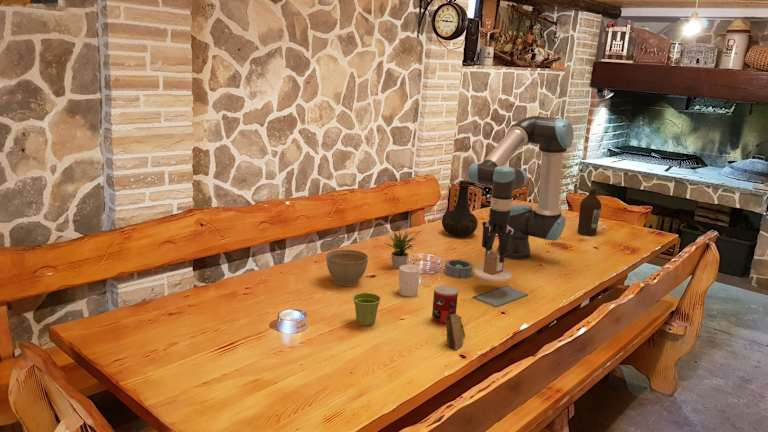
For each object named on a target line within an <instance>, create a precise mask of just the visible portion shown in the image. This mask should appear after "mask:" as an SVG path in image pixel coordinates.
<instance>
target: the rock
mask: <svg viewBox="0 0 768 432" xmlns="http://www.w3.org/2000/svg"><path fill="white" fill-rule="evenodd" d="M445 328H446V346H448V347H449V348H450V349H452V350H454V351H456V352H458V350H460V348H461V347H463V345H464V338H465V337H466V333H465V329H464V325H463V323H462V316H460V315H458V314H457V313H456V314H451V315H446V324H445Z"/></svg>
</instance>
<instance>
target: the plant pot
mask: <svg viewBox="0 0 768 432" xmlns="http://www.w3.org/2000/svg"><path fill="white" fill-rule="evenodd" d="M352 300H353V304H354V308H355V318H356V323H357V324H358V325H360V326H365V327H366V326H367V327H368V326H373V325H375V324H376V319H377V315H378V314H377V313H378V310H379V309H378V308H379V305H380V302H381V300H382V297H381V296H380V295H378V294H377V293H371V292H358V293H356V294H354V295H353V296H352Z"/></svg>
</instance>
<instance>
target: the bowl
mask: <svg viewBox="0 0 768 432" xmlns="http://www.w3.org/2000/svg"><path fill="white" fill-rule="evenodd" d="M456 265H461V266H462V267H461V268H460V267H455V266H456ZM473 267H474V264H473V263H472V262H470V261H468V260H465V259H464V260H463V259H449V260H446V261H445V263H444V274H445V275H446V276H449V277H451V278H454V279H455V278H456V279H467V278H470V277H472V276H473V270H474V268H473Z"/></svg>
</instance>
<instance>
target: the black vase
mask: <svg viewBox="0 0 768 432" xmlns="http://www.w3.org/2000/svg"><path fill="white" fill-rule="evenodd" d="M469 181H470V180H463V179H461V180H459V183H458V184H457V185H458V186H459V187H458V195H457V199H456V203H455V206H454V208H453V210H452V209H451V210H447V211H445V212H444V213H443V215H442V219H441V225H442V229H443V230H444V232H446V233H447V234H448V235H449V236H451V237H453V238H454V237H455V238H467V237H469V236H471V235H473V234H474V233H475V232H476V230H477V228H478V226H479V223H478V222H479V221H478V219H477V217H476V215H475V214H473V213H472V212H471V211H470V209H469V187H471V184H470V183H469Z"/></svg>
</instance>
